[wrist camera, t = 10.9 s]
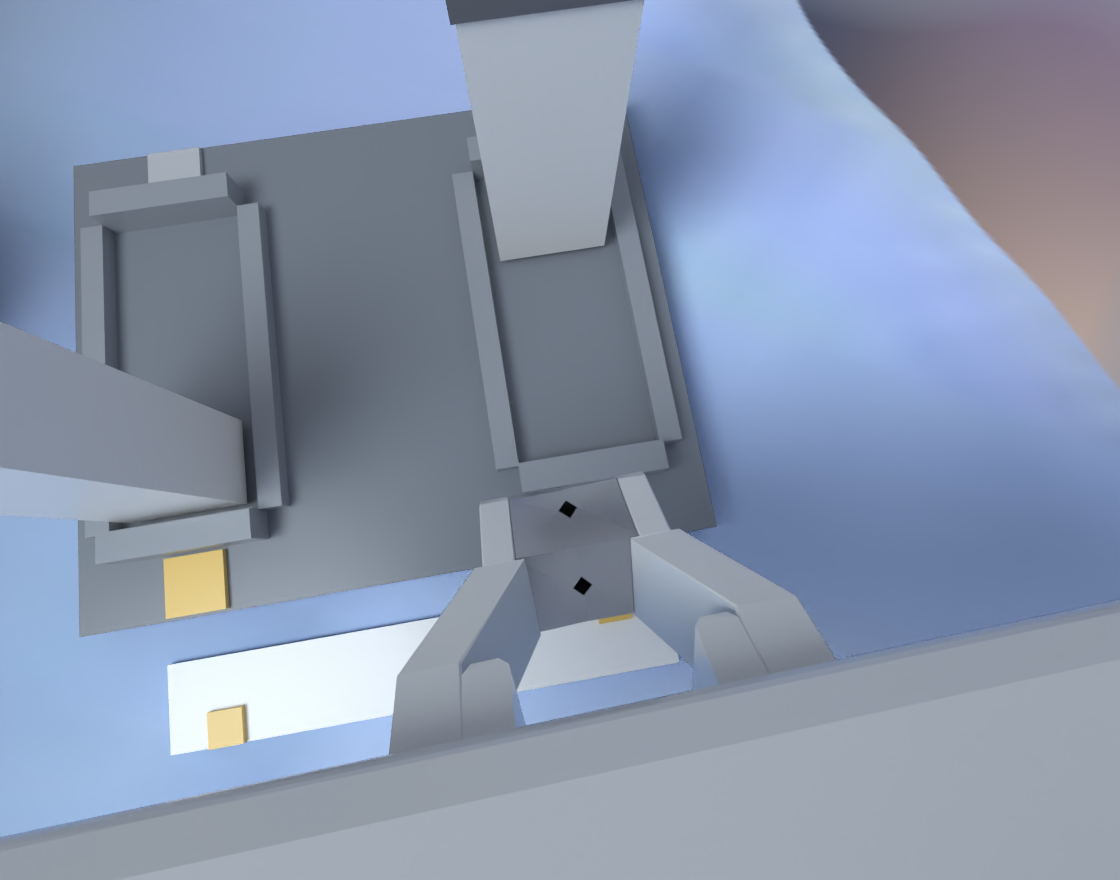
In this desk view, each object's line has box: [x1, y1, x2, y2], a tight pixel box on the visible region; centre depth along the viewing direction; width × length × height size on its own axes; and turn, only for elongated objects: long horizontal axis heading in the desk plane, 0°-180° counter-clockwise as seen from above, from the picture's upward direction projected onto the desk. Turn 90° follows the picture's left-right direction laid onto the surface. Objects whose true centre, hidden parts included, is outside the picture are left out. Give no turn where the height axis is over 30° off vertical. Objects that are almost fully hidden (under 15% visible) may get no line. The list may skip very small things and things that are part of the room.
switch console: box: [74, 110, 717, 755], centre depth 21 cm, size 22×22×3 cm
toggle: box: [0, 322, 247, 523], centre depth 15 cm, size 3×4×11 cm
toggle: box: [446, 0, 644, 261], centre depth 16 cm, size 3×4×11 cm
